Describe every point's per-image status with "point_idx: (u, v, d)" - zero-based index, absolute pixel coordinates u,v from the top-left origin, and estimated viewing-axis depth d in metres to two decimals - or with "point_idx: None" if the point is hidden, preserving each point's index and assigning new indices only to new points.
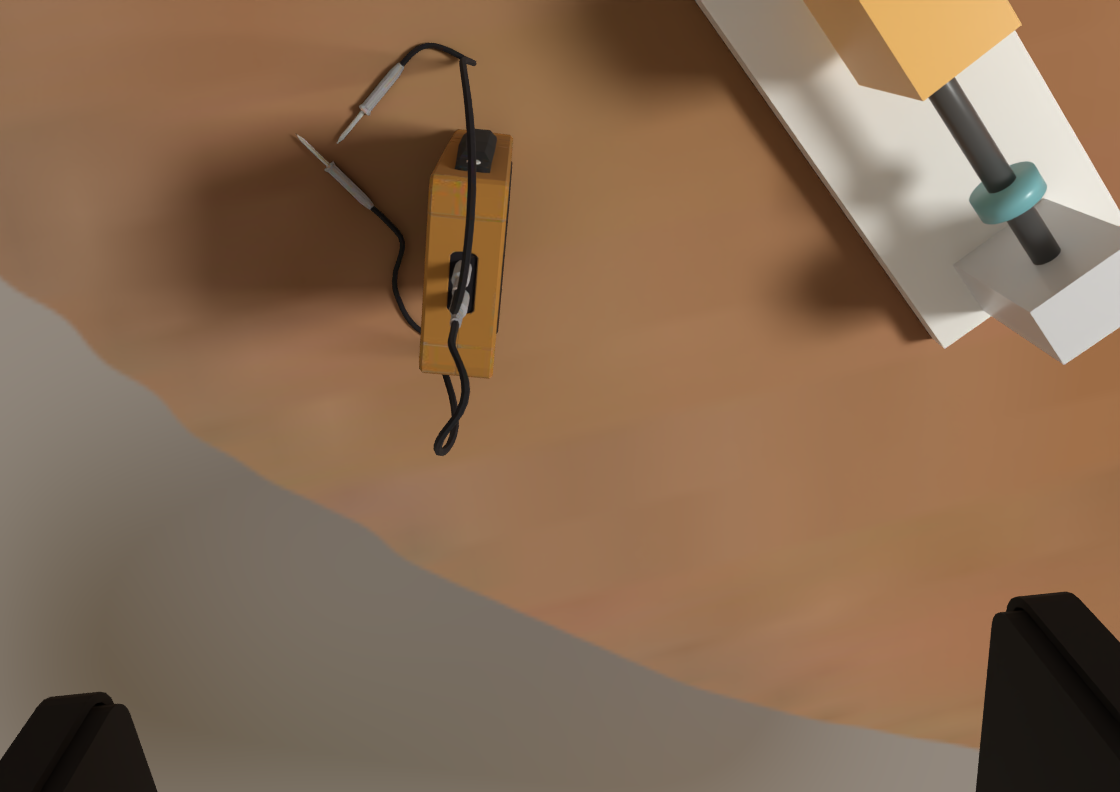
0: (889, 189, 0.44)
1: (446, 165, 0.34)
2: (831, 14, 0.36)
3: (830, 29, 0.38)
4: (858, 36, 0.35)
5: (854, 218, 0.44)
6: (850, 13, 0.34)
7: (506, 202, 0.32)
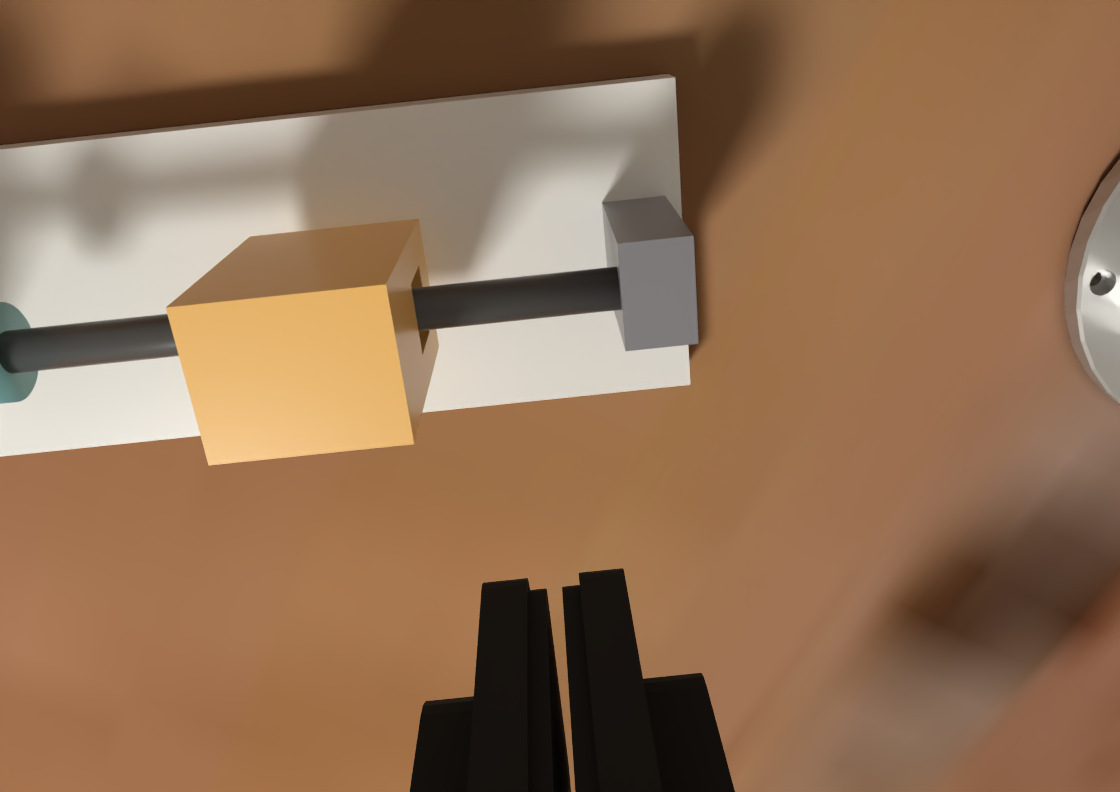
0: (87, 209, 0.29)
1: None
2: (358, 245, 0.25)
3: (340, 235, 0.27)
4: (309, 264, 0.24)
5: (64, 144, 0.28)
6: (344, 268, 0.23)
7: None
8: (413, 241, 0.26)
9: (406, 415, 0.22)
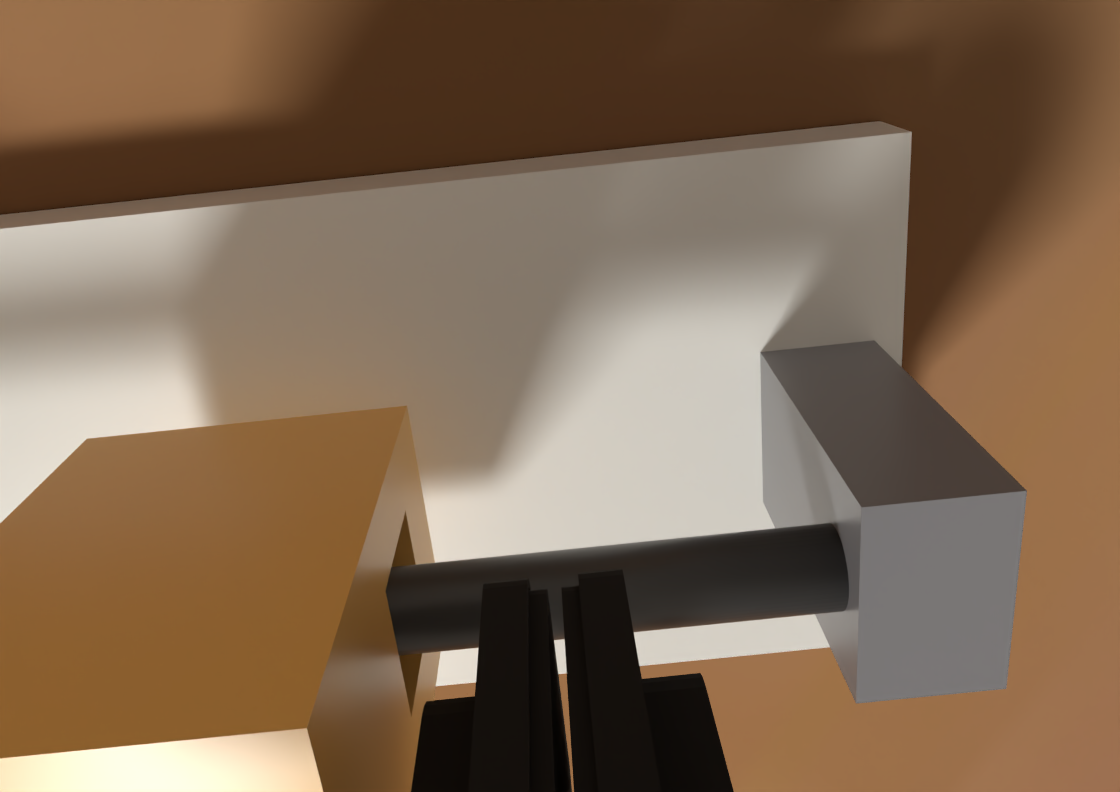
0: None
1: None
2: (276, 499, 0.12)
3: (250, 454, 0.13)
4: (155, 579, 0.11)
5: None
6: (225, 613, 0.10)
7: None
8: (393, 473, 0.13)
9: None
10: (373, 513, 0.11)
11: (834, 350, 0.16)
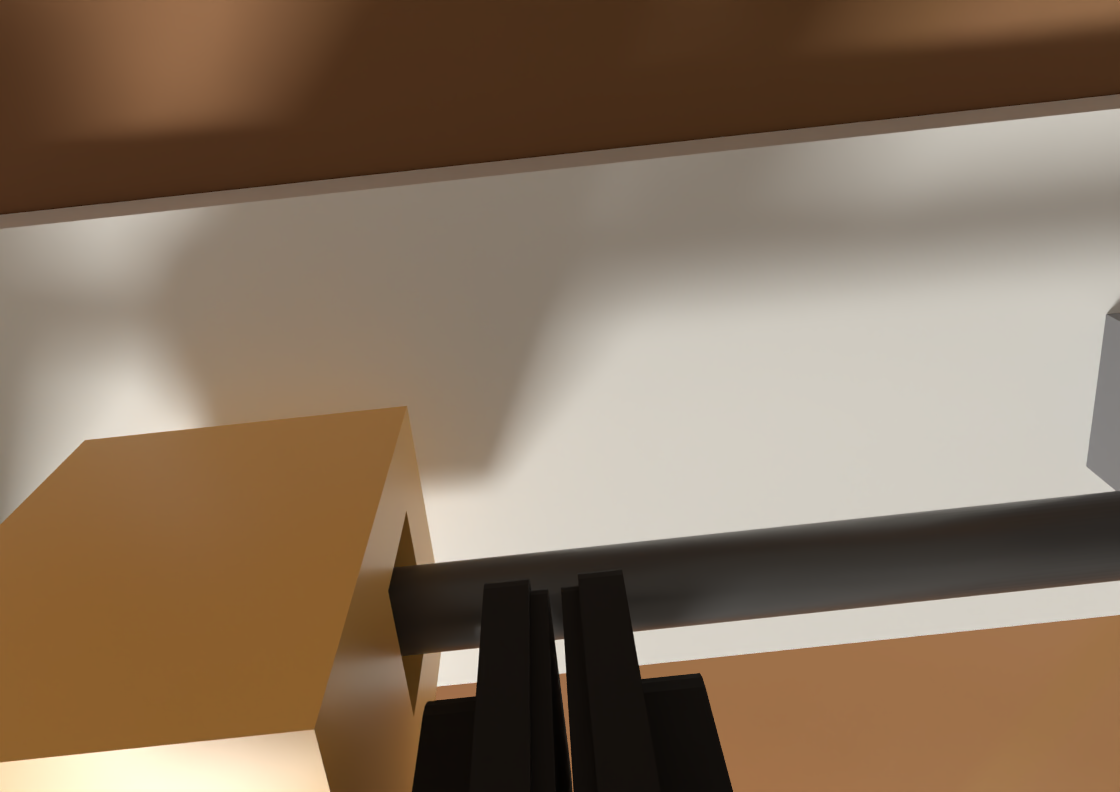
0: (182, 332, 0.16)
1: None
2: (278, 500, 0.12)
3: (250, 455, 0.13)
4: (157, 581, 0.10)
5: (144, 215, 0.15)
6: (229, 614, 0.10)
7: None
8: (395, 474, 0.13)
9: None
10: (376, 514, 0.11)
11: None
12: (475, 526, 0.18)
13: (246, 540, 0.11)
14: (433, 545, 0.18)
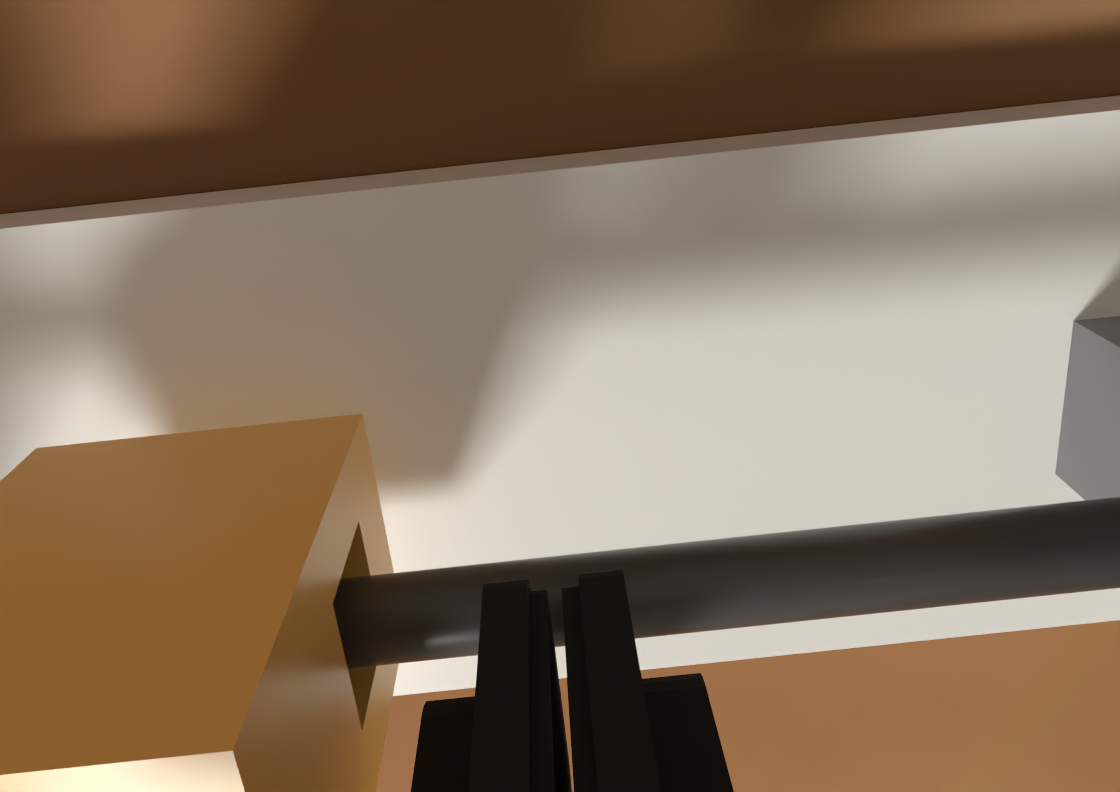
0: (139, 338, 0.16)
1: None
2: (222, 511, 0.12)
3: (200, 464, 0.13)
4: (92, 594, 0.10)
5: (99, 220, 0.15)
6: (160, 629, 0.10)
7: None
8: (345, 483, 0.13)
9: None
10: (319, 525, 0.11)
11: None
12: (439, 533, 0.17)
13: (186, 552, 0.11)
14: (397, 553, 0.18)
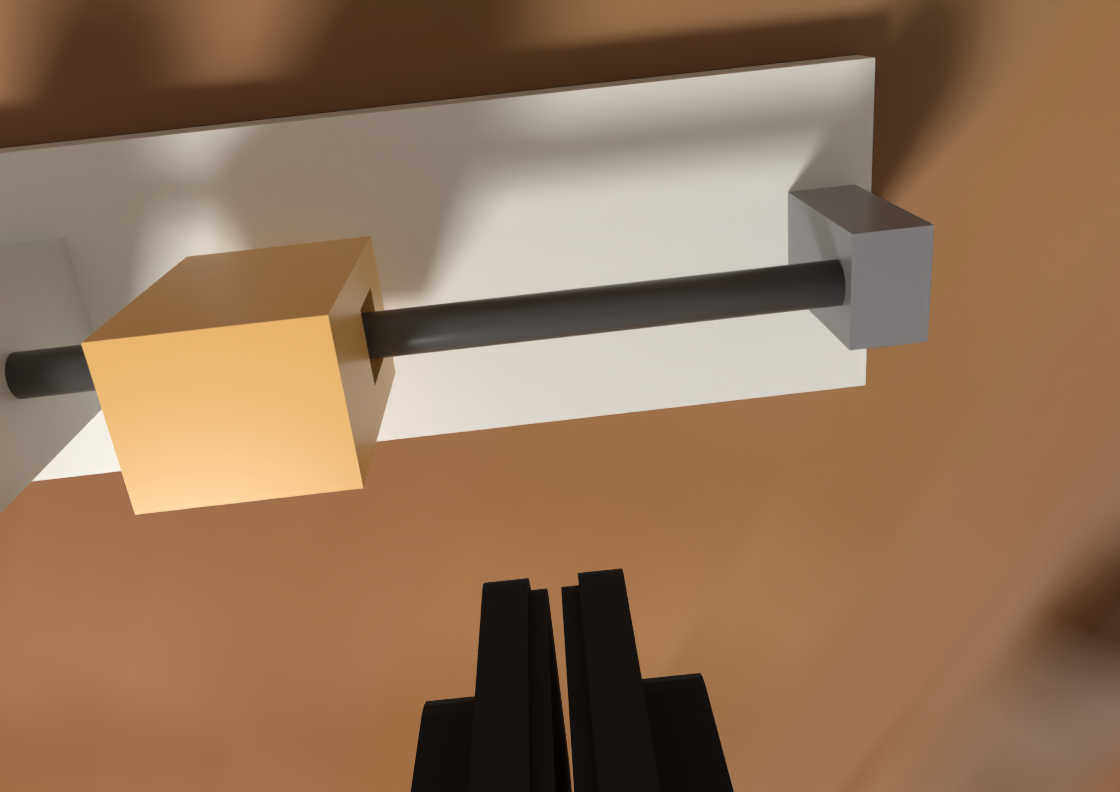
0: (237, 202, 0.27)
1: None
2: (302, 267, 0.23)
3: (284, 255, 0.24)
4: (246, 290, 0.21)
5: (217, 131, 0.26)
6: (284, 295, 0.21)
7: None
8: (364, 262, 0.24)
9: (354, 457, 0.20)
10: (353, 268, 0.23)
11: (831, 188, 0.28)
12: None
13: (288, 278, 0.22)
14: None
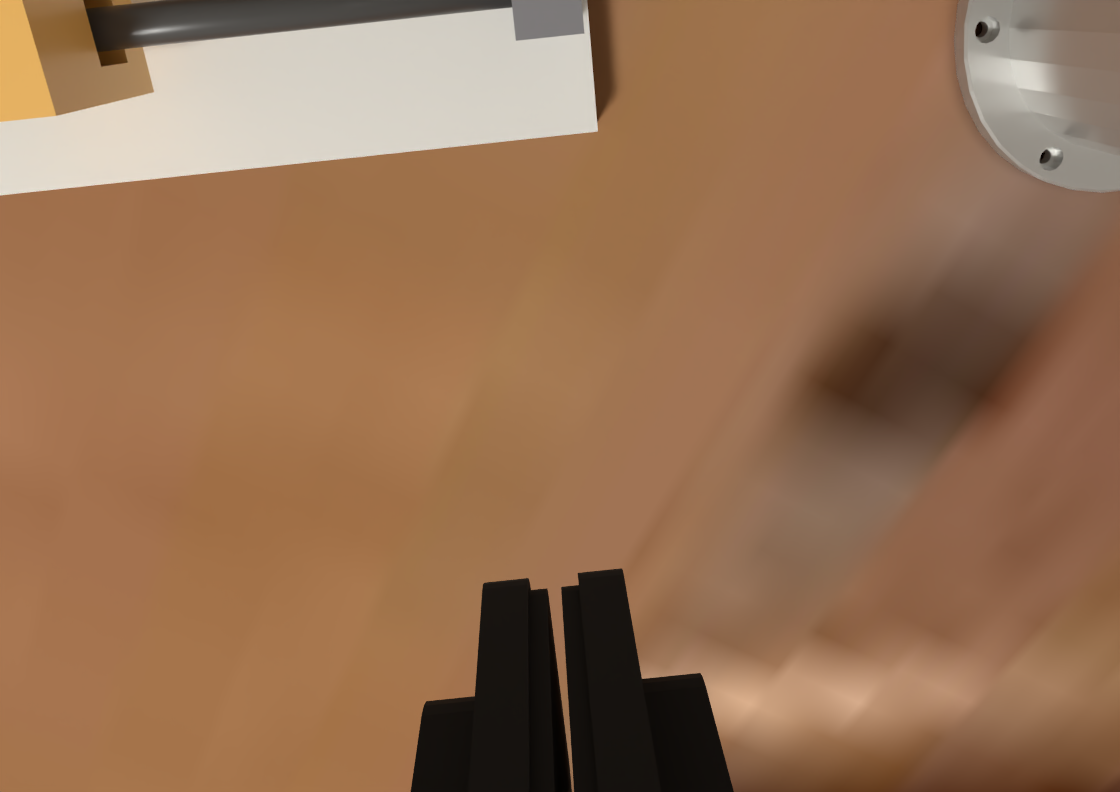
0: None
1: None
2: None
3: None
4: None
5: None
6: None
7: None
8: None
9: (44, 85, 0.24)
10: None
11: None
12: (185, 67, 0.32)
13: None
14: (163, 79, 0.33)
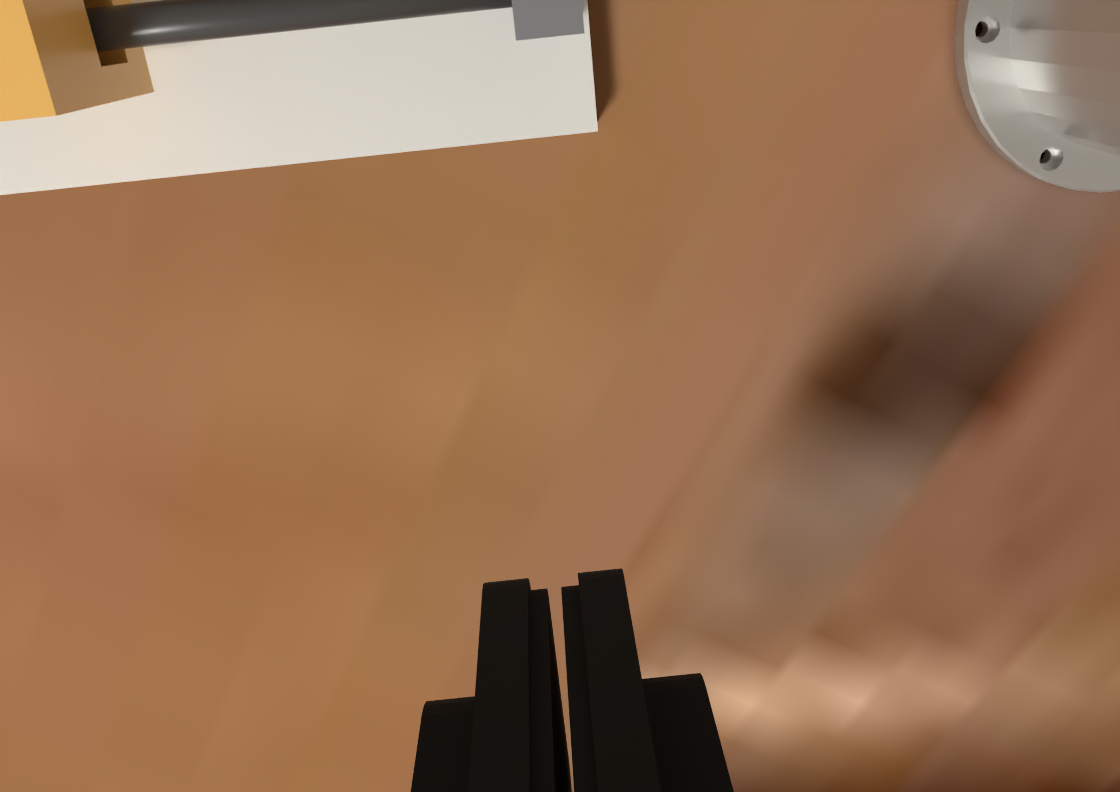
0: None
1: None
2: None
3: None
4: None
5: None
6: None
7: None
8: None
9: (44, 85, 0.24)
10: None
11: None
12: (185, 67, 0.32)
13: None
14: (163, 79, 0.33)
